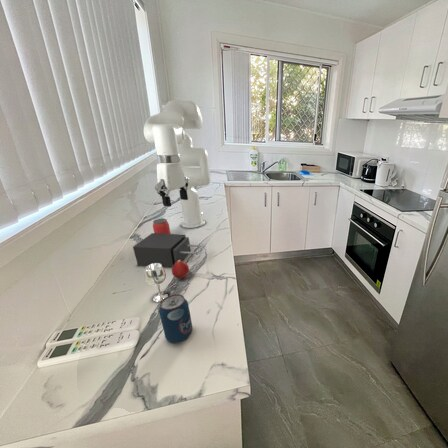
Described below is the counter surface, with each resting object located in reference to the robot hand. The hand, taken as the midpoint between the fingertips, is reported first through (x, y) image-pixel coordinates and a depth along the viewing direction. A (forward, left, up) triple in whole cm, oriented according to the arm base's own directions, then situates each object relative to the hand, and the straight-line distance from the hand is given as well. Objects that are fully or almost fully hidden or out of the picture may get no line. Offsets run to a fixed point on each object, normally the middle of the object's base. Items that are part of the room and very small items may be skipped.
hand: (176, 202), depth 99 cm
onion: (+17, +7, -24) cm, 31 cm away
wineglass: (+28, +5, -24) cm, 38 cm away
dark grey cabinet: (+4, -7, -24) cm, 26 cm away
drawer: (+4, -1, -23) cm, 24 cm away
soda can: (+43, +19, -24) cm, 53 cm away
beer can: (-9, -14, -24) cm, 29 cm away
